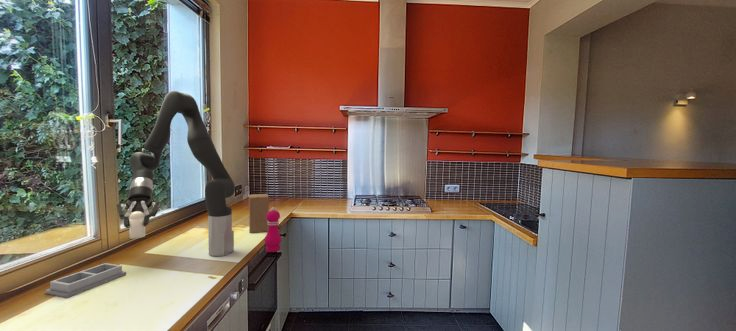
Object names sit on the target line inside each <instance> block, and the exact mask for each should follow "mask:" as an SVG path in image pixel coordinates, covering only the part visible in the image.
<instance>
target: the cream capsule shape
mask: <svg viewBox="0 0 736 331" xmlns="http://www.w3.org/2000/svg"><path fill="white" fill-rule="evenodd" d="M144 217H145V214H144V212H140V211H135V212H133V213H131V214H130V216H129V228H128V230H129V232H128V233H129V239H133V240H134V239H140V238H144V237H146V226H144Z"/></svg>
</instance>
